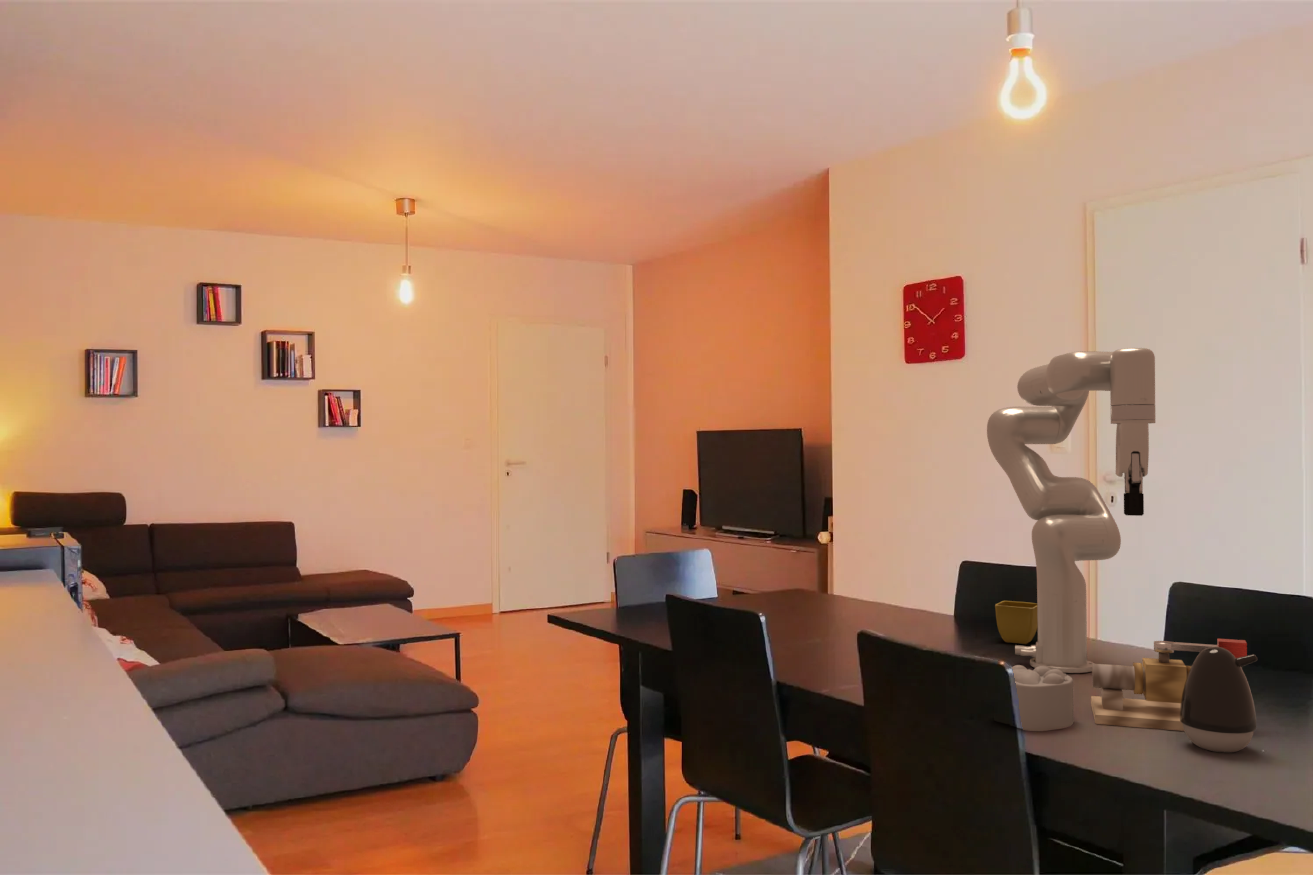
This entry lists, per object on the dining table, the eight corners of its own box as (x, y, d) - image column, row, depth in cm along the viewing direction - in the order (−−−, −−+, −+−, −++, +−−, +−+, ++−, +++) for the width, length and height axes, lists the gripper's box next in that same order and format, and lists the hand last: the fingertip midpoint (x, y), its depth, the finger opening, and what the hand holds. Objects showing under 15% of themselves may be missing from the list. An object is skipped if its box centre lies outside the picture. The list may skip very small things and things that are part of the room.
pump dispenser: (1263, 761, 149) (1262, 655, 149) (1182, 752, 153) (1181, 650, 153) (1253, 742, 159) (1252, 643, 159) (1177, 735, 163) (1176, 638, 163)
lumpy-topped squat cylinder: (984, 718, 174) (984, 666, 174) (1041, 709, 179) (1041, 659, 180) (1032, 733, 164) (1032, 678, 164) (1090, 723, 170) (1090, 671, 170)
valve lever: (1154, 652, 172) (1153, 637, 172) (1153, 649, 175) (1153, 634, 175) (1247, 658, 166) (1246, 643, 166) (1245, 655, 169) (1244, 640, 169)
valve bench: (1095, 723, 170) (1094, 656, 170) (1091, 704, 183) (1090, 641, 183) (1247, 735, 162) (1246, 665, 162) (1231, 714, 175) (1230, 649, 176)
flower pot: (1041, 641, 245) (1041, 603, 245) (1033, 646, 238) (1033, 607, 238) (1003, 637, 250) (1003, 600, 250) (994, 643, 242) (994, 604, 243)
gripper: (1108, 417, 199) (1108, 512, 198) (1113, 414, 185) (1114, 517, 184) (1151, 416, 196) (1151, 513, 196) (1159, 413, 182) (1160, 518, 182)
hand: (1133, 515), depth 190 cm, fingers closed
